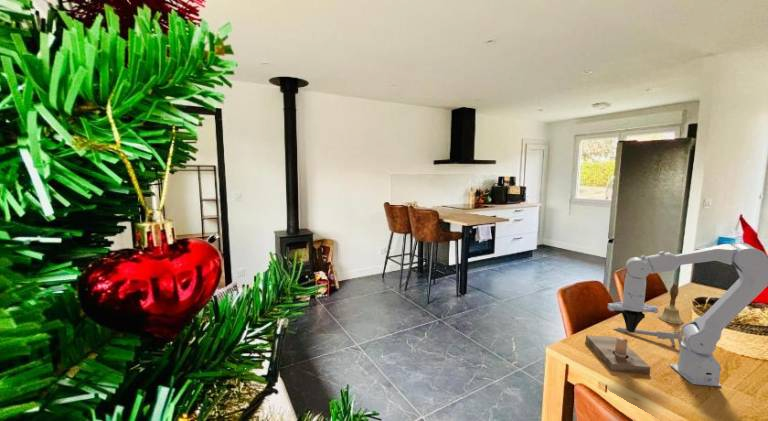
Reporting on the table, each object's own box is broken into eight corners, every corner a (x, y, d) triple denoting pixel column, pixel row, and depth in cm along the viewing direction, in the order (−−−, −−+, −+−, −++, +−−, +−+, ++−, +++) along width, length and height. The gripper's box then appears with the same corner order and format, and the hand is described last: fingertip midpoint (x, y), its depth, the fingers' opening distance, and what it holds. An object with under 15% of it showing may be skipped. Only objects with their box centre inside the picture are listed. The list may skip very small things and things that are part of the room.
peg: (627, 364, 106) (629, 342, 105) (616, 363, 107) (619, 341, 106) (622, 359, 109) (624, 337, 108) (612, 357, 110) (614, 336, 109)
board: (649, 374, 101) (650, 367, 101) (611, 370, 103) (612, 363, 102) (617, 343, 119) (617, 337, 118) (585, 341, 120) (586, 334, 120)
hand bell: (655, 313, 143) (660, 279, 141) (680, 318, 139) (685, 283, 136) (660, 321, 136) (664, 285, 134) (686, 326, 132) (691, 289, 129)
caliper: (681, 347, 117) (683, 331, 116) (681, 348, 116) (683, 332, 115) (613, 329, 130) (615, 314, 129) (613, 330, 129) (614, 315, 128)
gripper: (649, 289, 110) (645, 326, 112) (604, 287, 112) (601, 323, 114) (664, 297, 103) (659, 337, 105) (616, 295, 105) (612, 334, 107)
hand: (630, 330), depth 109 cm, fingers closed
